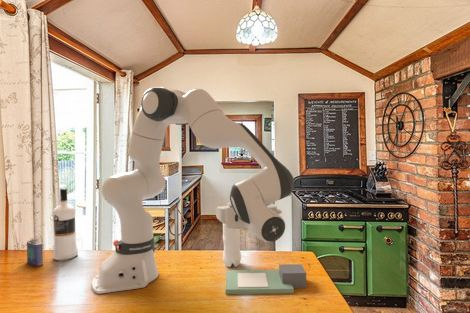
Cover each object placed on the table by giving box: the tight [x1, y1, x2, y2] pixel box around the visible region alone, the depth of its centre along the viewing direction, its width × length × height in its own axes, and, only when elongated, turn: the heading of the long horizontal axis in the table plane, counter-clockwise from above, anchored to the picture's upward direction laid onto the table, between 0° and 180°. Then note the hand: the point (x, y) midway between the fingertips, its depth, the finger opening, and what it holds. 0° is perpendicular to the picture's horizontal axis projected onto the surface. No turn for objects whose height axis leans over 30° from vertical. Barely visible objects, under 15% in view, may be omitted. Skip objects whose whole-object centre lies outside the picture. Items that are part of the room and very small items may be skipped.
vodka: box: [52, 188, 79, 261], centre depth 125 cm, size 9×9×30 cm
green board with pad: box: [225, 263, 307, 295], centre depth 100 cm, size 27×14×5 cm, turn 90°
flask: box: [26, 237, 44, 267], centre depth 119 cm, size 9×3×11 cm, turn 61°
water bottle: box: [222, 201, 242, 268], centre depth 115 cm, size 7×7×25 cm
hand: (240, 206), depth 103 cm, fingers open, 8 cm apart
